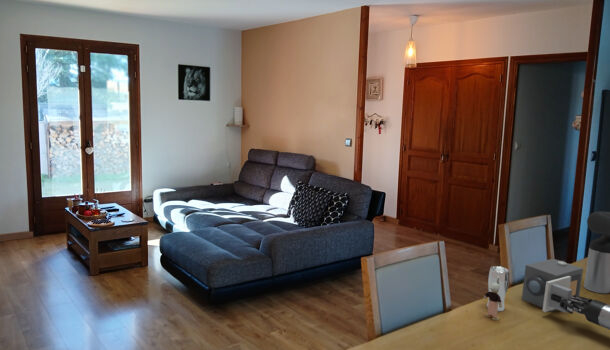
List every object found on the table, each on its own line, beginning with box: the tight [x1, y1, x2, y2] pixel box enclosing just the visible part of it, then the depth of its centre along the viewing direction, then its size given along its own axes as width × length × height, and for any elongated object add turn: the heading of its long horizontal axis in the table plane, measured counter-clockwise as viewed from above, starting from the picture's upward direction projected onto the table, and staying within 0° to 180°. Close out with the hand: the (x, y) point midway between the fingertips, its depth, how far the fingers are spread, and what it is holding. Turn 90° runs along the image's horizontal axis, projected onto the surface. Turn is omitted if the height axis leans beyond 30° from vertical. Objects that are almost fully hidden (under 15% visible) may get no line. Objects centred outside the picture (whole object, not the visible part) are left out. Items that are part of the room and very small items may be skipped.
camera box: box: [521, 258, 584, 313], centre depth 174 cm, size 21×12×15 cm, turn 121°
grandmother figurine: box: [483, 283, 502, 321], centre depth 160 cm, size 8×4×13 cm, turn 37°
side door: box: [542, 276, 572, 313], centre depth 162 cm, size 14×7×11 cm, turn 121°
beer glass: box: [486, 265, 510, 312], centre depth 167 cm, size 7×7×15 cm
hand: (554, 295), depth 161 cm, fingers closed
